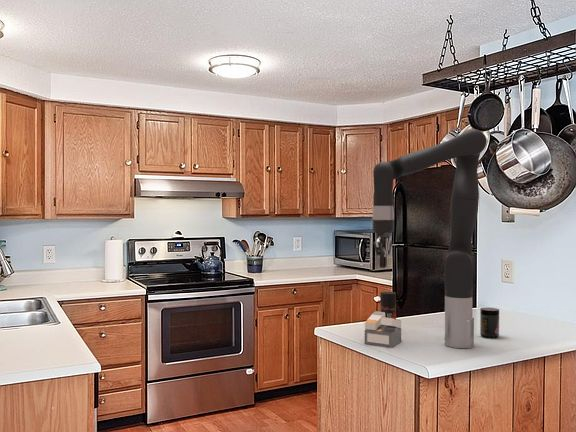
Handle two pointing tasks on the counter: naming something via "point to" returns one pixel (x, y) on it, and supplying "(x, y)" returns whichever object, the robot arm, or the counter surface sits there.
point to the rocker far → (374, 320)
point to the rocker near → (390, 322)
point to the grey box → (383, 336)
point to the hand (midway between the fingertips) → (383, 267)
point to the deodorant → (388, 304)
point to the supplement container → (489, 323)
